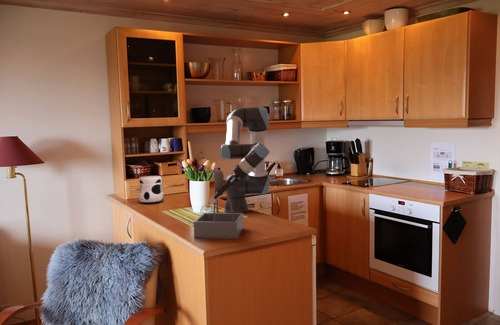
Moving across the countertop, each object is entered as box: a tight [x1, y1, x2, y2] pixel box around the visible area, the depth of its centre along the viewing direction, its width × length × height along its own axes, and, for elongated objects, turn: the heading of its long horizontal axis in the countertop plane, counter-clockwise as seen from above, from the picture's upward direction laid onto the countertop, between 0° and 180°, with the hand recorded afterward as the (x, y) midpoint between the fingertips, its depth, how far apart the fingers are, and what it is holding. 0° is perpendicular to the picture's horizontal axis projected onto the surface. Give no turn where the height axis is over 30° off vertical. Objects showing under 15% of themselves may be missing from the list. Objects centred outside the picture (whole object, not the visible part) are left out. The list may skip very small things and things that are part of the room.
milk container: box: [138, 175, 165, 204], centre depth 296 cm, size 17×17×18 cm
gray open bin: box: [193, 212, 244, 240], centre depth 211 cm, size 20×21×8 cm
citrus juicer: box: [213, 169, 235, 222], centre depth 209 cm, size 11×10×30 cm
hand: (212, 200), depth 210 cm, fingers closed on citrus juicer, 9 cm apart
